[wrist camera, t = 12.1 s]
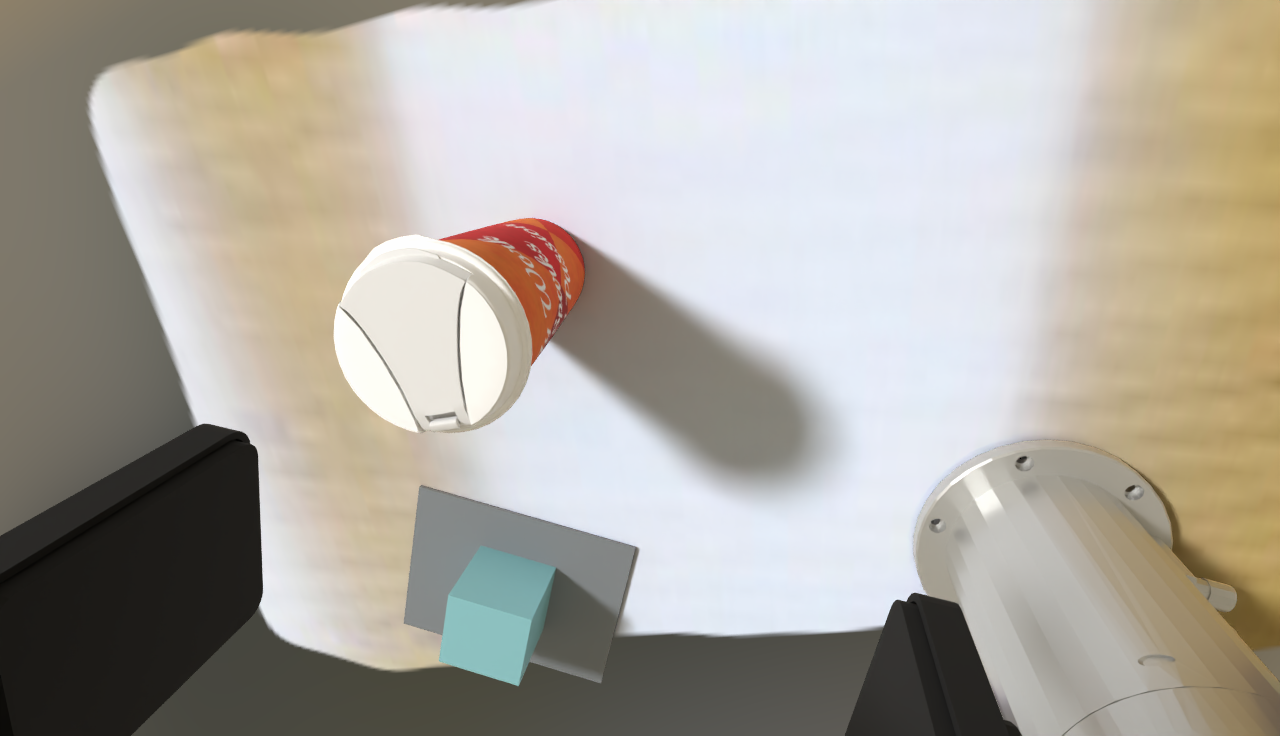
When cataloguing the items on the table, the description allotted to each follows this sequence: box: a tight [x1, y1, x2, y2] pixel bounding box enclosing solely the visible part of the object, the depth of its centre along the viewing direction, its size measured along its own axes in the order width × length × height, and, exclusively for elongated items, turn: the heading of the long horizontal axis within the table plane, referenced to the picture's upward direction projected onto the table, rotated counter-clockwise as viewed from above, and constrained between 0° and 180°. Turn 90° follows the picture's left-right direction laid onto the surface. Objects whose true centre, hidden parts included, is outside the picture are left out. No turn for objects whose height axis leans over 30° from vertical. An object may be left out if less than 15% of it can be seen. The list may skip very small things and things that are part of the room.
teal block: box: [439, 546, 556, 686], centre depth 44 cm, size 5×5×5 cm
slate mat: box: [404, 485, 636, 683], centre depth 46 cm, size 14×11×1 cm
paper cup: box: [334, 218, 585, 433], centre depth 32 cm, size 8×8×14 cm
